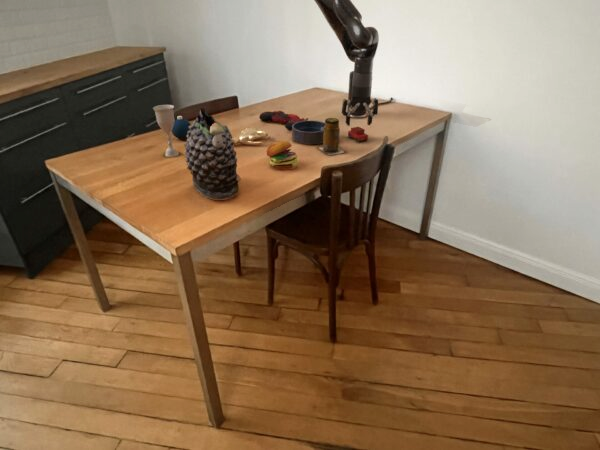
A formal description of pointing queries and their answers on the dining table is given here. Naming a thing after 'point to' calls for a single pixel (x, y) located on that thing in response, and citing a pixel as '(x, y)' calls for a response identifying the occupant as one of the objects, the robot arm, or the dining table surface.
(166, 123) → the chalice
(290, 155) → the cheeseburger
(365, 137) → the toy car
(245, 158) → the dining table surface
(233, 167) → the pinecone ceramic vase
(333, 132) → the condiment
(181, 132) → the christmas ornament
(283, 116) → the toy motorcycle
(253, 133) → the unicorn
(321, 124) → the bowl
